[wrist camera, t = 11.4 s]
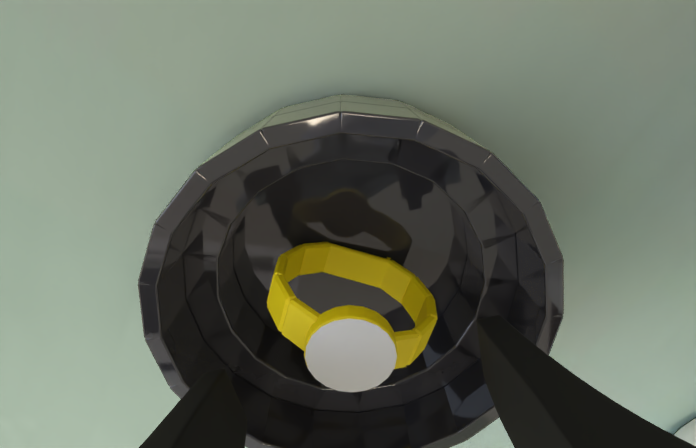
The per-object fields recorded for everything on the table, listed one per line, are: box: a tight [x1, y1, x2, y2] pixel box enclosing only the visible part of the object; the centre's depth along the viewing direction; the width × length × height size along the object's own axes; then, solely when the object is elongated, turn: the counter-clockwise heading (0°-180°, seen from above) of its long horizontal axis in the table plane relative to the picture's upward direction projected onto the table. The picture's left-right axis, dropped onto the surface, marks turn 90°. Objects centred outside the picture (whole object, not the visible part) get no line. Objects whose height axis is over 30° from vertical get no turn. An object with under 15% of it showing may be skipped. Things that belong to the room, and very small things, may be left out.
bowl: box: [138, 94, 564, 448], centre depth 15 cm, size 14×14×5 cm
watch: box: [267, 242, 438, 392], centre depth 15 cm, size 6×3×6 cm, turn 75°
